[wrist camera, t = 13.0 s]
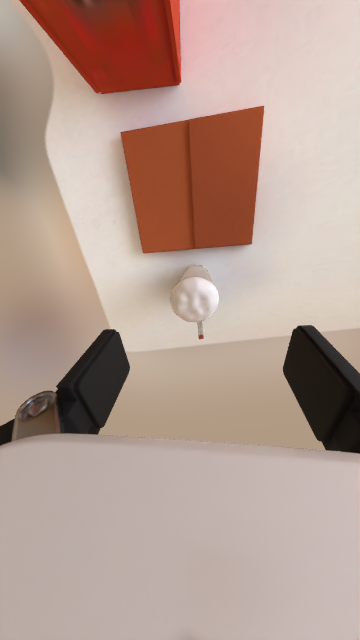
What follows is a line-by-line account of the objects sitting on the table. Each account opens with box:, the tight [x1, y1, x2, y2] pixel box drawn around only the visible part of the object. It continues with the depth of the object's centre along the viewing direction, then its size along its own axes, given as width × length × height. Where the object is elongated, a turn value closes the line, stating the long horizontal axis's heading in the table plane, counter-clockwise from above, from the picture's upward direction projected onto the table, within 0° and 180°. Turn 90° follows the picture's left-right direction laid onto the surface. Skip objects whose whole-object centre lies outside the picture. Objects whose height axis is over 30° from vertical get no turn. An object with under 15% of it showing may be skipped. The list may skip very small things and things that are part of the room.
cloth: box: [121, 106, 264, 253], centre depth 19 cm, size 11×13×1 cm
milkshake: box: [170, 265, 219, 339], centre depth 20 cm, size 5×5×10 cm
